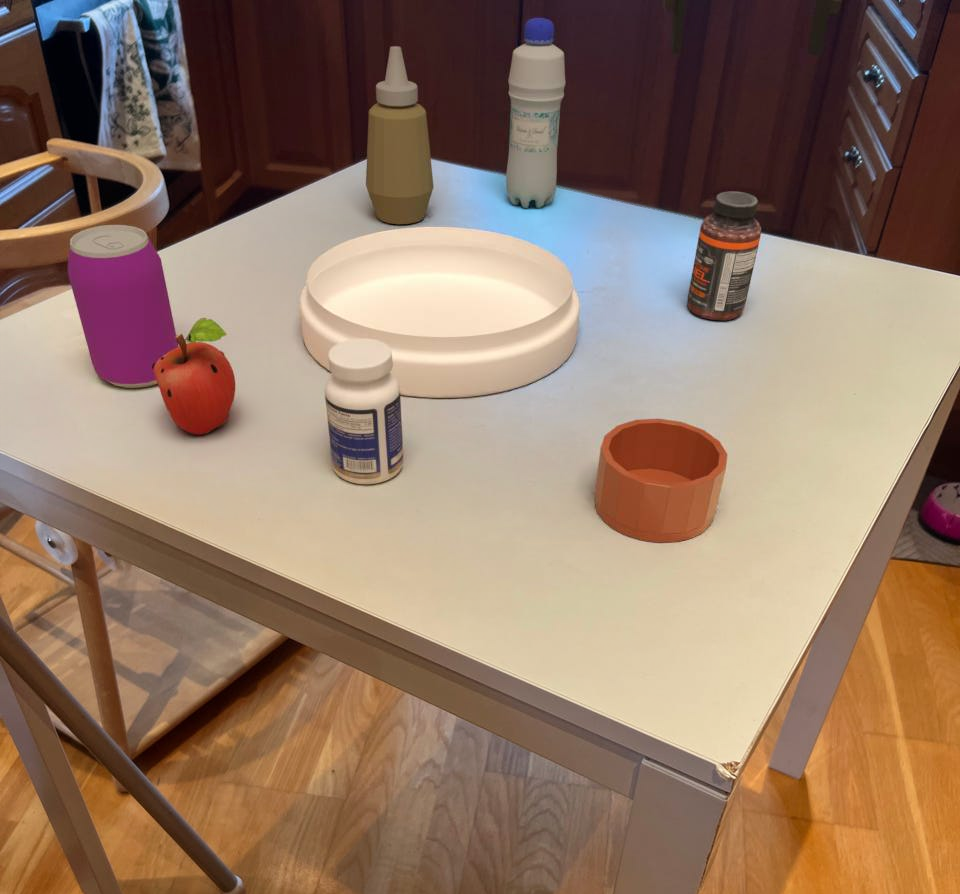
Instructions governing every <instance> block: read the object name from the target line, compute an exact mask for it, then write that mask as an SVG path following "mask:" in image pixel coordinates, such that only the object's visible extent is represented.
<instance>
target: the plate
mask: <svg viewBox="0 0 960 894" xmlns="http://www.w3.org/2000/svg"><path fill="white" fill-rule="evenodd" d="M573 279H574V278H573V276H572V273H571V272H570V269H569V268H568V267H567V265H566V264H565V263H564V262H563V261H562V260H561V259H560V258H559V257H557V256H556V255H554V254H553V252H552V253H551V252H550V251H549V250H547V249H545V248H543V247H541V246H538V245H537V244H535V243H533V242H529V241H527V240H524V239H521V238H518V237H515V236H511V235H507V234H505V233H503V234H502V233H499V232H495V231H489V230H482V229H476V228H469V227H467V228H466V227H456V226H417V227H415V226H414V227H404V228H394V229H389V230H383V231H378V232H373V233H369V234H364V235H361V236H358V237H354V238H351V239H348V240H346V241H344V242H341V243H339V244H337V245H335V246H333V247H331V248H329V249H328V250H326V251H324V252H323V253H322V254H321V255H320V256H318V257H317V258H316V259H315V260H314V261H313V262H312V264H311V266H310V267H309V268H308V271H307V274H306V284H305V285H304V287H303V288H302V291H301V292H300V296H299V314H300V322H301V324H300V325H301V332H302V339H303V341H304V346H305V347H306V349H307V351H308V353H309V354H310V355H311V356H312V357H313V360H315V361H316V362H317V363H318V364H320V365H321V366H322V367H324V368H325V369H326V370H328V371H329V372H330V368H329V358H328V354H329V351H330V349H331V348H332V347H333V346H335V345H336V344H338V343H341V342H343V341H346V340H351V339H362V338H364V339H374V340H378V341H381V342H383V343H385V344H387V345H388V346H389V347H390V349H391V352H392V362H393V367H392V370H391V371H390V372H391V373H392V374H393V375H394V376H395V377H396V379H397V380H398V383H399V386H400V396H406V397H416V398H434V399H450V398H451V399H454V398H455V399H456V398H470V397H479V396H486V395H487V396H488V395H493V394H498V393H502V392H503V393H504V392H506V391H511V390H514V389H517V388H521V387H524V386H526V385H529V384H532V383H534V382H537V381H539V380H540V379H543V378H545V377H547V376H548V375H549V374H551V373H553V372H555V371H556V370H557V369H558V368H560V367H561V366H562V365H563V364H564V363H565V362H566V361H567V360H568V359H569V358H570V356H571V355H572V353H573V351H574V349H575V347H576V344H577V339H578V333H579V322H580V315H581V314H580V313H581V305H580V303H581V302H580V299H579V295H578V293H577V291H576V289H575V288H574V280H573Z"/></svg>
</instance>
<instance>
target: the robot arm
mask: <svg viewBox="0 0 960 894" xmlns="http://www.w3.org/2000/svg"><path fill="white" fill-rule="evenodd" d="M842 1H843V0H815V4H814V10H813V15H812V22H811V27H810V33H809V38H808V44H807V49H806V53H807V54H809V55H812V56H822V54H823V49H824V43H825V38H826V33H827V27H828V21H829V16H830V14H831V15H834V14H835V15H837V14H839V11H840V9H841V7H842ZM662 7H663V11H664V12H665V13H672V21H671V31H670V41H669V53H671V54H673V55H681V53H682V44H683V35H684V28H685V27H684V26H685V16H686V7H687V0H663V1H662Z"/></svg>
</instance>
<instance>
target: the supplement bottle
mask: <svg viewBox="0 0 960 894" xmlns="http://www.w3.org/2000/svg"><path fill="white" fill-rule="evenodd" d="M758 203H759V201H758V199H757V197H756V196H755V195H752V194H750V193H747V192H743V191H735V190H734V191H733V190H731V191H723V192H720V193H718V194H717V195H716V197H715V201H714V206H713V211H712V213H711V214H709V215H707V216H706V217H705V218H704V219H703V220H702V222H701V224H700V229H699V234H698V237H697V244H696V249H695V255H694V260H693V261H694V262H693V265H692V266H693V267H692V272H691V278H690V281H689V288H688V294H687V302H686V304H687V308H688V309H689V310H690V312H692V314H694V315H696V316H698V317H700V318H703V319H706V320H710V321H728V320H734V319H736V318H738V317H740V316H741V315H742V314H743V312H744V310H745V306H746V302H747V298H748V294H749V289H750V286H751V282H752V276H753V273H754V268H755V263H756V258H757V254H758V249H759V244H760V241H761V236H762V227H761V224H760V223H759V221H758V220H757V219H756V218H755V215H756V214H757V207H758Z"/></svg>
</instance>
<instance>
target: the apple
mask: <svg viewBox="0 0 960 894" xmlns="http://www.w3.org/2000/svg"><path fill="white" fill-rule="evenodd" d="M225 336H227V332H226V331H225V330H224V329H223V328H222V327H221V326H220V324H219V323H217V322H216V321H215V320H213V319H211V318H207V317H202V318H199V319H198V320H196V321H195V323H194V324H193V325H192V327H191V329H190V331H189V333H188V334H187V336H186V338H185V337H184V335H183V334H182V333H180V334H177V335H176V337H175V339H176V341H177V343H178V346H179V347H177V348H175V349H173V350H171V351H170V352H168V353H166V354H165V355H164V356H162V357H161V358H160V359H159V360H158V361H157V362H156V363H154V364H153V365H152V369H153V370H154V374H155V378H156V381H157V384H156V385H157V386H158V389H159V391H160V395H161V398H162V400H163V404H164V405H165V408H166V409H167V412H168V414H169V415H170V417H171V419H172V421H174V423H175V424H176V425H177V426H178V427H179V428H181V429H182V430H184V431H186V432H187V433H189V434H191V435H197V436H198V435H199V436H201V435H206V434H208V433H210V432H211V431H213V430H215V429H217V428H219V427H221V426H223V425H224V424H225V423H226V422H227V420H228V418H229V416H230V412H231V409H232V407H233V403H234V400H235V395H236V377H235V373H234V370H233V367H232V365H231V363H230V361H229V360H228V358H227V357H226V355H225V353H224V352H223V351H222V350H219V349H218V347H216V346H214V345H212V344H210V343H207V342H217V341H219V340H221V339H222V338H223V337H225Z"/></svg>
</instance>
